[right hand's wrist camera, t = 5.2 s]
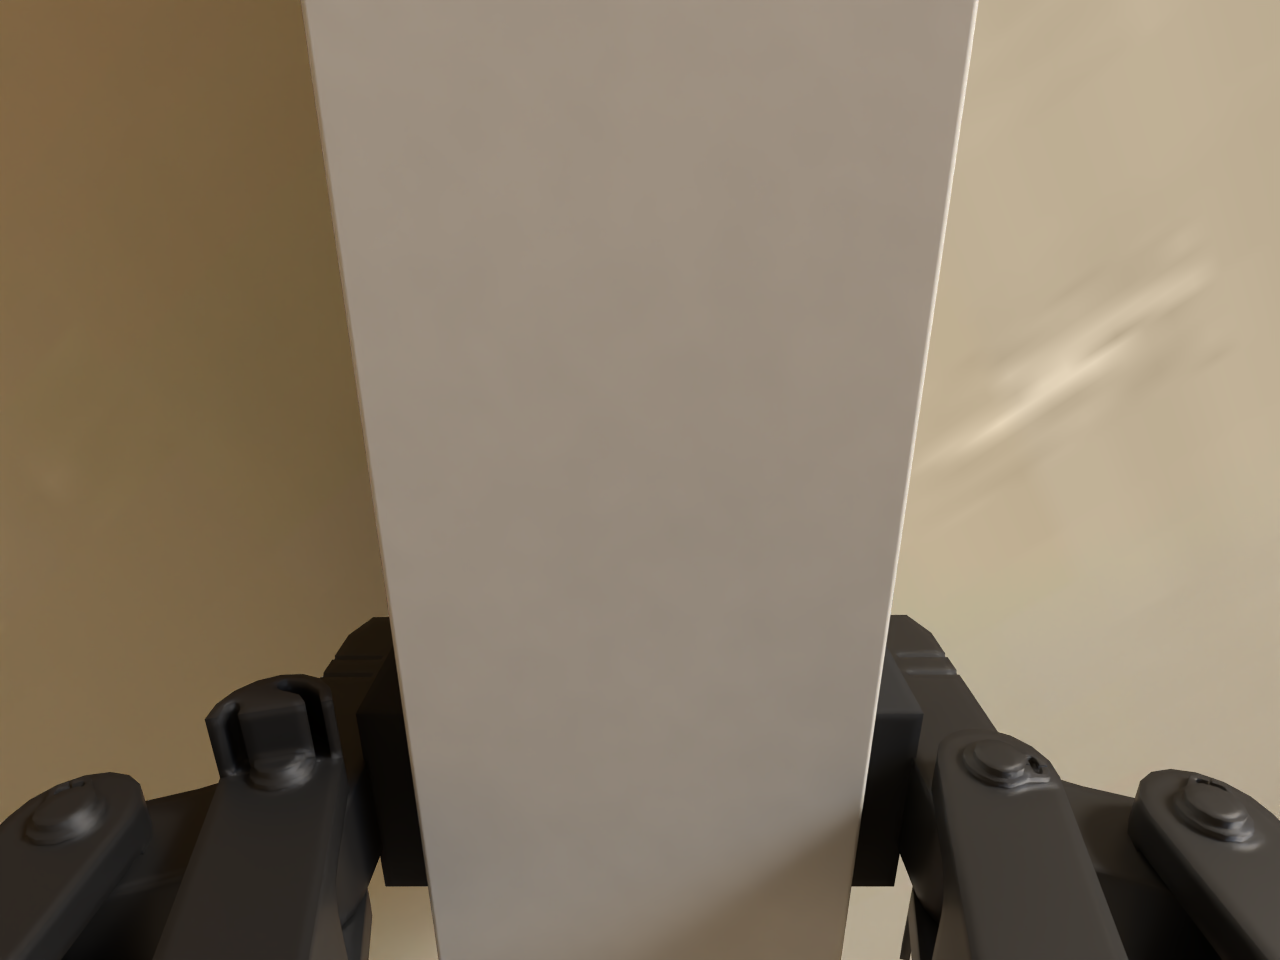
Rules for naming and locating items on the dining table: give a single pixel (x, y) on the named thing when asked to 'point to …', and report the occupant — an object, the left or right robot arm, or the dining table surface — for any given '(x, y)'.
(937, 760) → the right robot arm
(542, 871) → the beam
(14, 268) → the dining table surface
